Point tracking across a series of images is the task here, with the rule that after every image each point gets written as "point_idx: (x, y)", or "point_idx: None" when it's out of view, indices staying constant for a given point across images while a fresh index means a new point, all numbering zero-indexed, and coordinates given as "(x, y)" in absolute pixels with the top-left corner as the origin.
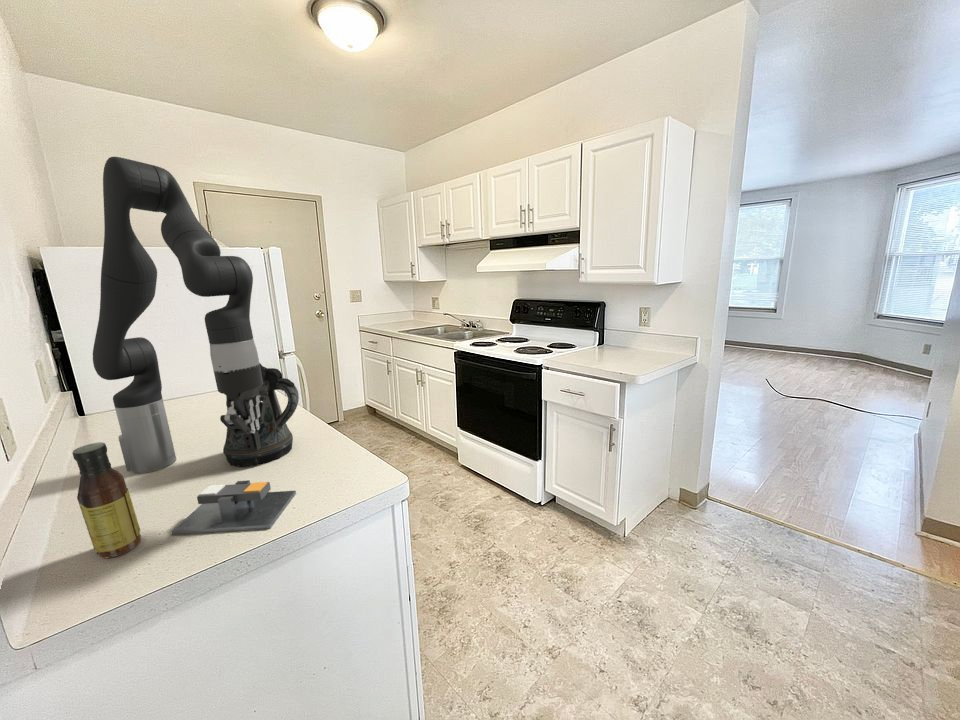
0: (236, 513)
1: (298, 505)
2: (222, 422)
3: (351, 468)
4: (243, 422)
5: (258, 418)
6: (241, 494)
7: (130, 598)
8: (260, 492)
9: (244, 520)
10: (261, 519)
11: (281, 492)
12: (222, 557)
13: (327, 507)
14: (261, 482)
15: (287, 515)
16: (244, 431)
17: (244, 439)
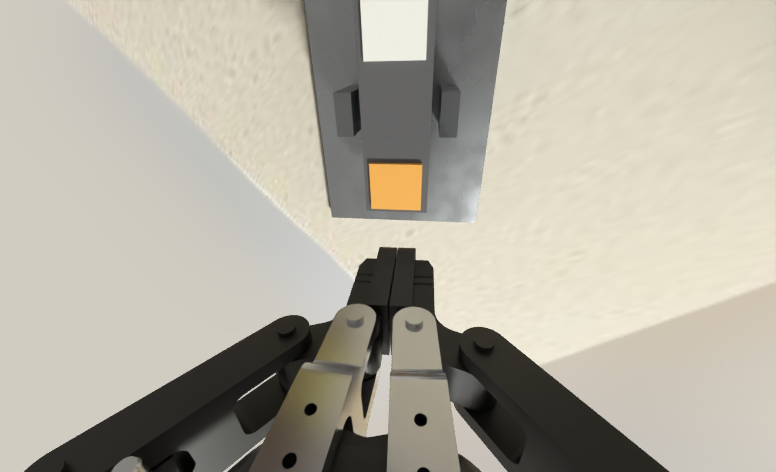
0: None
1: (417, 239)
2: (77, 437)
3: (573, 307)
4: (237, 454)
5: (467, 414)
6: (364, 157)
7: (108, 33)
8: (369, 210)
9: (349, 151)
10: (351, 192)
11: (473, 190)
12: (244, 159)
13: None
14: (419, 195)
15: (380, 229)
16: (267, 387)
17: (351, 298)
